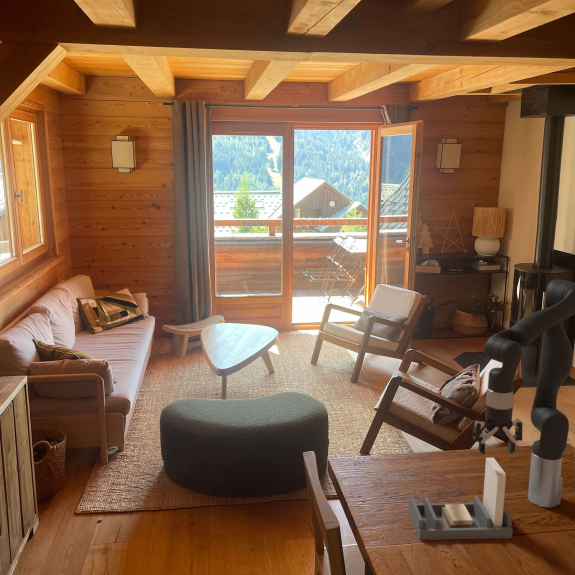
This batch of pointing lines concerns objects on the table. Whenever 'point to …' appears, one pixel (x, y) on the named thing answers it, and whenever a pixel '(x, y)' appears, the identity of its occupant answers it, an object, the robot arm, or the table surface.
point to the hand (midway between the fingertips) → (496, 452)
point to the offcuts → (456, 516)
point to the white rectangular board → (494, 492)
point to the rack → (435, 528)
